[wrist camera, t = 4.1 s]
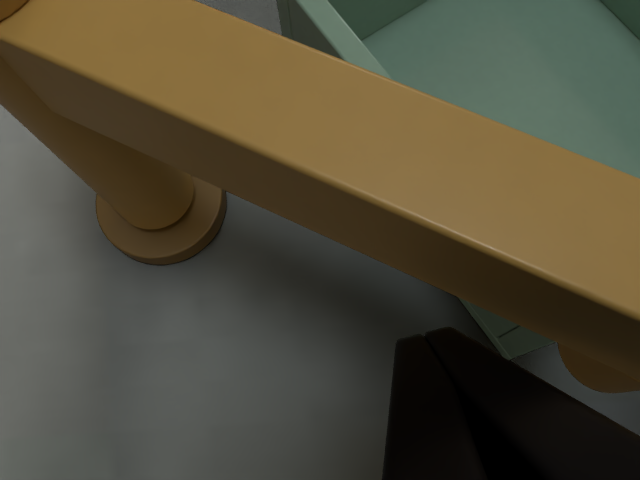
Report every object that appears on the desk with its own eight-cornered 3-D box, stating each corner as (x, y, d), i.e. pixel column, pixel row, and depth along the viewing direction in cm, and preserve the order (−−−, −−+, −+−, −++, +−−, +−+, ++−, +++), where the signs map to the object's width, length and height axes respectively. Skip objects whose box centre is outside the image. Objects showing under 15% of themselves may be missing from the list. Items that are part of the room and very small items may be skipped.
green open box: (775, 168, 19) (922, 81, 14) (505, 361, 17) (567, 338, 12) (532, -73, 22) (584, -211, 17) (287, 74, 20) (270, -32, 16)
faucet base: (250, 220, 19) (246, 212, 18) (141, 289, 18) (132, 283, 18) (188, 128, 20) (182, 116, 19) (83, 191, 19) (73, 181, 19)
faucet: (43, 187, 18) (-348, -117, 8) (89, 116, 19) (-214, -248, 9) (542, 429, 16) (926, 443, 5) (577, 337, 16) (976, 190, 6)
